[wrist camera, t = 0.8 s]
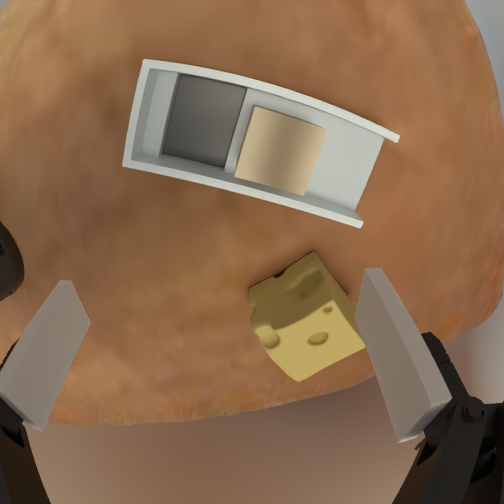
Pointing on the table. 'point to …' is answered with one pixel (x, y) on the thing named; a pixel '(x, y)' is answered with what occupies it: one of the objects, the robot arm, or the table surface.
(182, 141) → the channel
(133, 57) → the table surface
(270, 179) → the block
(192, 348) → the table surface
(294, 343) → the cheese
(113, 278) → the table surface
